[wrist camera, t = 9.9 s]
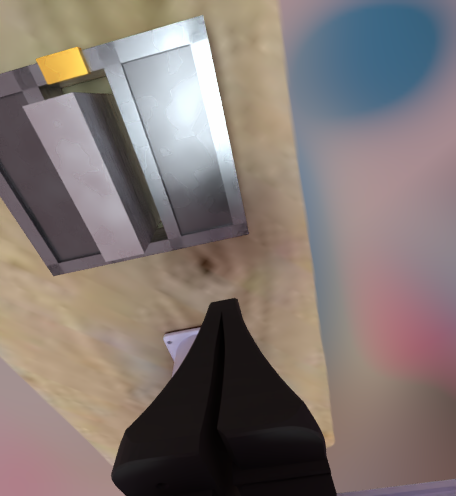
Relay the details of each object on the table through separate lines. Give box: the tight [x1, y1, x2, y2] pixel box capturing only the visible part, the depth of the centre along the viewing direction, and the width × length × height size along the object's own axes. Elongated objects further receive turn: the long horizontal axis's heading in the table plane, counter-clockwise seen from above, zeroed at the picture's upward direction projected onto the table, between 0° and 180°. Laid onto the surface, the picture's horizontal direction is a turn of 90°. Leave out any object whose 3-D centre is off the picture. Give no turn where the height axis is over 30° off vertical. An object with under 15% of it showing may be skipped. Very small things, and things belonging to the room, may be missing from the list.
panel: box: [22, 92, 161, 262], centre depth 17 cm, size 9×3×6 cm, turn 13°
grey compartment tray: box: [0, 15, 249, 276], centre depth 19 cm, size 13×16×3 cm
